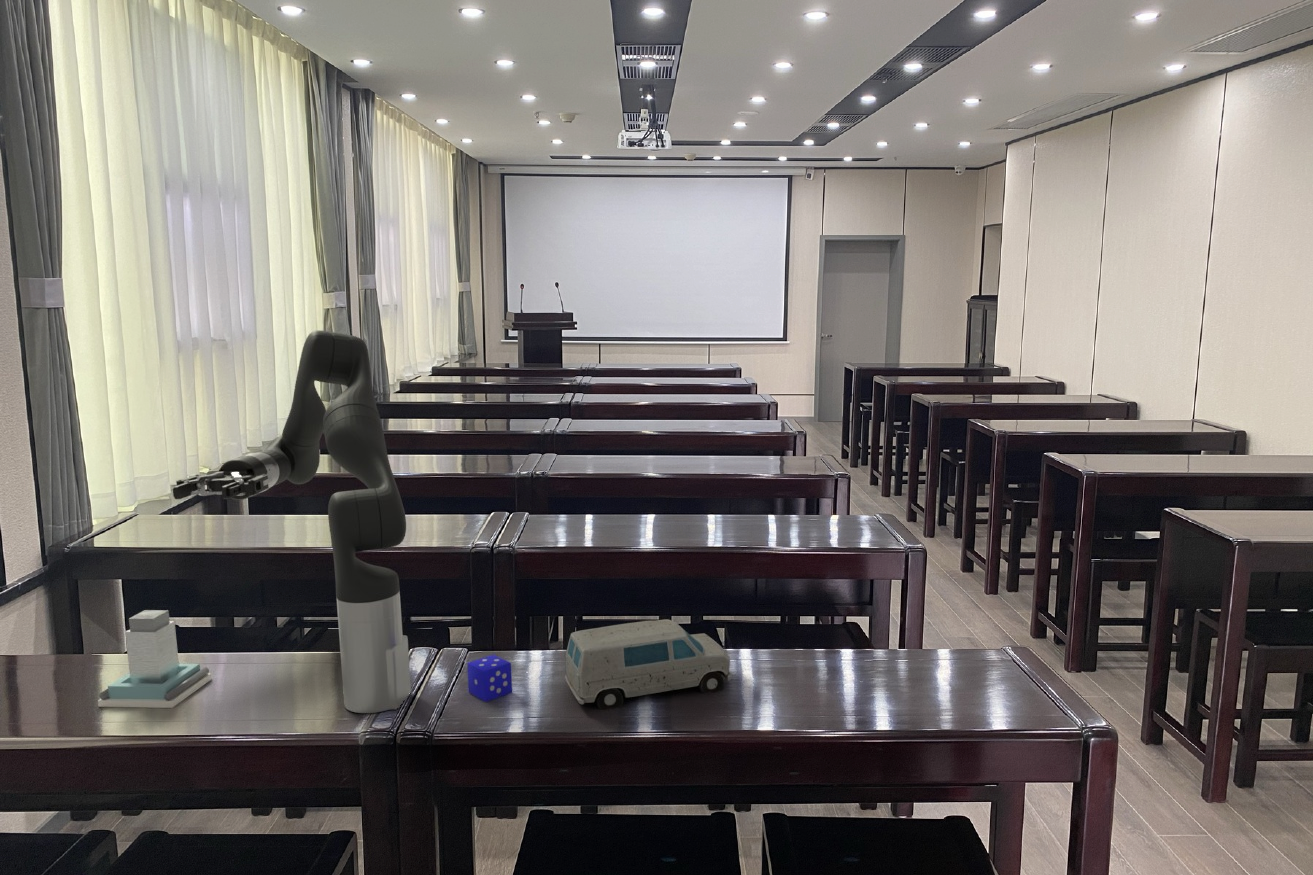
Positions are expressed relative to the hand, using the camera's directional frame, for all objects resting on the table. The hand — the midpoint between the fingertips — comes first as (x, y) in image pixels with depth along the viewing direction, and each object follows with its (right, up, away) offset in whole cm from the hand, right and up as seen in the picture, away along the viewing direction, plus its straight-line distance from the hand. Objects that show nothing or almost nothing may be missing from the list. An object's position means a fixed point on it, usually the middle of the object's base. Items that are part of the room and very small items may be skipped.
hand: (199, 493), depth 158 cm
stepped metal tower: (-3, -31, -7) cm, 32 cm away
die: (+51, -31, -10) cm, 60 cm away
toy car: (+75, -30, -10) cm, 82 cm away
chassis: (-3, -32, -7) cm, 32 cm away
